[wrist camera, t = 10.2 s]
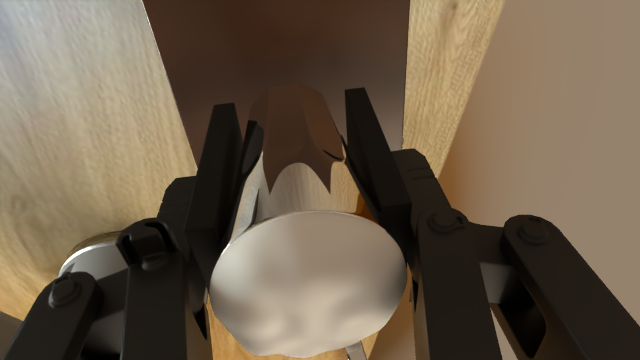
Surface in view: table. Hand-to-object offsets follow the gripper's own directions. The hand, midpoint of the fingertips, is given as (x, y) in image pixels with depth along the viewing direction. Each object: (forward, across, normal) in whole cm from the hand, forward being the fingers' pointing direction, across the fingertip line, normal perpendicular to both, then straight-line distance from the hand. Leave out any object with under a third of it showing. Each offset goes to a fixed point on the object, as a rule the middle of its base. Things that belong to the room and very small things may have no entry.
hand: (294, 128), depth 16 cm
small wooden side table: (+17, 0, 0) cm, 17 cm away
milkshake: (0, 0, 0) cm, 0 cm away
